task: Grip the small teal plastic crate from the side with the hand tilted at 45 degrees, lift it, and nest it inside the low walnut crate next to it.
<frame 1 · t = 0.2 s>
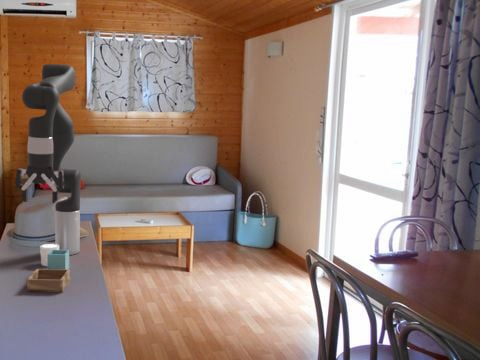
hand: (40, 202, 182), 29 cm above the table, tool pointing down, fingers open, 8 cm apart
walnut crate: (49, 286, 190), on the table
white cylinder: (49, 264, 214), on the table
teal crate: (58, 274, 202), on the table
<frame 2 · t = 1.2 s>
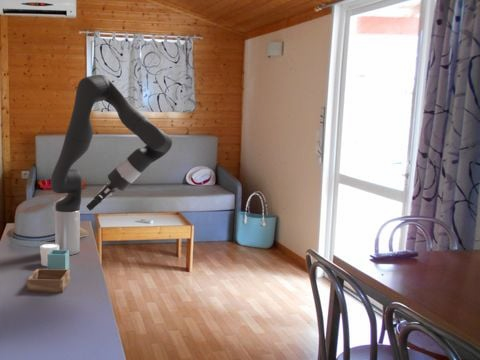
hand: (91, 206, 199), 25 cm above the table, tool tilted 45°, fingers open, 8 cm apart
nothing on the table moved.
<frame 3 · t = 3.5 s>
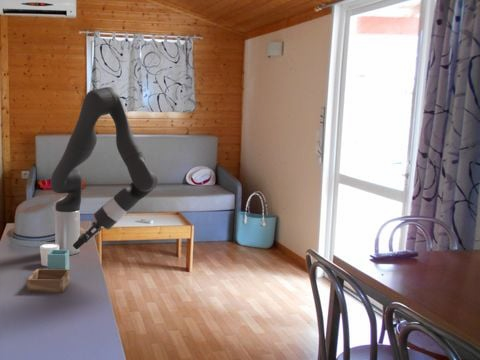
hand: (77, 244, 201), 11 cm above the table, tool tilted 45°, fingers open, 8 cm apart
nothing on the table moved.
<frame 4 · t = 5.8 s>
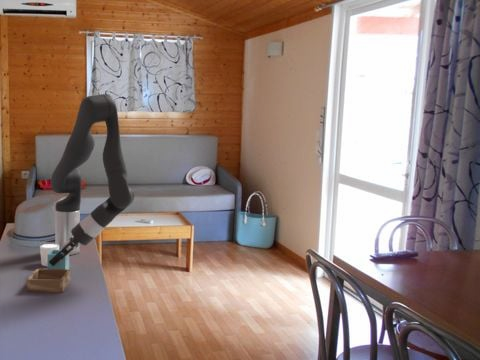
hand: (53, 261, 201), 5 cm above the table, tool tilted 45°, fingers closed on teal crate, 6 cm apart
teal crate: (58, 274, 202), on the table, touching gripper
everything else where it was.
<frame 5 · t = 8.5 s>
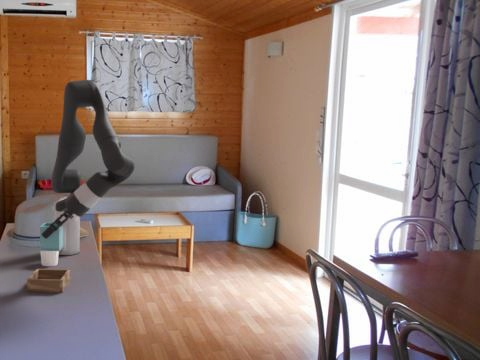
hand: (46, 234, 189), 17 cm above the table, tool tilted 45°, fingers closed on teal crate, 6 cm apart
teal crate: (52, 248, 189), point 12 cm above the table, touching gripper
everything else where it was.
when the fingers open (7 cm above the table, at t = 11.1 s): teal crate drops 1 cm, resting on walnut crate.
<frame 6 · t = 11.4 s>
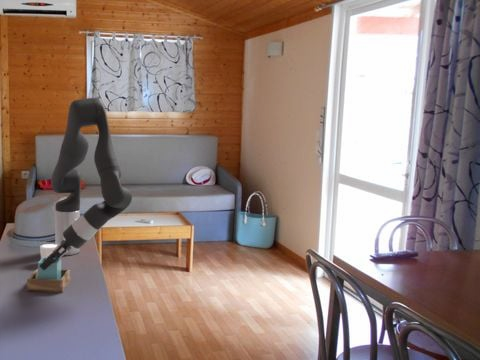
hand: (45, 264, 189), 7 cm above the table, tool tilted 45°, fingers open, 8 cm apart
teal crate: (49, 283, 190), point 1 cm above the table, touching walnut crate
everything else where it was.
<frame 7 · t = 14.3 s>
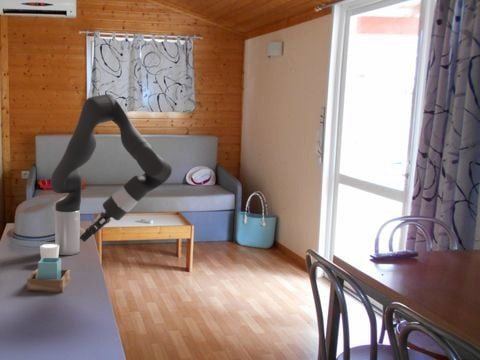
hand: (84, 236, 188), 17 cm above the table, tool tilted 45°, fingers open, 8 cm apart
nothing on the table moved.
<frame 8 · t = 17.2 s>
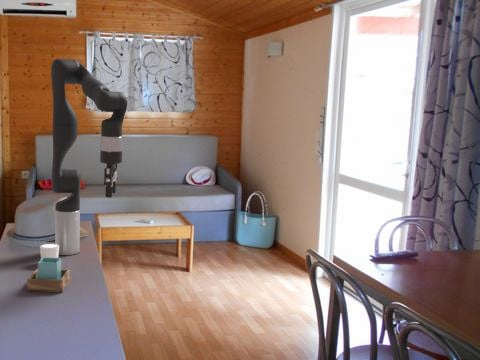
hand: (110, 195, 203), 28 cm above the table, tool pointing down, fingers open, 8 cm apart
nothing on the table moved.
at the end: teal crate 0.1 cm off-centre on the walnut crate, point 0.8 cm above the walnut crate's base; teal crate tilted 0°; the gripper is holding nothing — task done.
